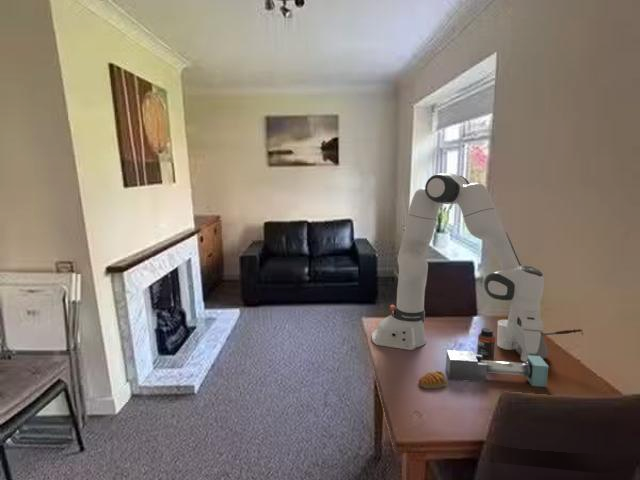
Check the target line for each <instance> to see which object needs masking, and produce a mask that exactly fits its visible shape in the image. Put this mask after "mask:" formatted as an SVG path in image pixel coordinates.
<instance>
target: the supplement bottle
mask: <svg viewBox="0 0 640 480" xmlns="http://www.w3.org/2000/svg"><path fill="white" fill-rule="evenodd" d="M493 332H494V330H493V329H492V328H490V327H481V332H480V333H478V337H477V349H476V350H477V351H476V355H482V356H483V358H482V360H488V361H493V360H494V357H495V346H496V345H495V344H496V343H495V342H496V337H495V335H494V333H493Z"/></svg>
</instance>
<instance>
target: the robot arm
mask: <svg viewBox="0 0 640 480" xmlns="http://www.w3.org/2000/svg"><path fill="white" fill-rule="evenodd" d="M424 186H425V187H421V188H418V189H417V190H416V191H415V192H414V194H413V197H412V199H411V201H410V205H409V209H408V213H407V218H406V223H405V228H404V233H403V236H402V240H401V242H400V247H399V251H398V254H397V263H398V277H397V278H398V280H397V289H396V306H395V305H394V304H391V305H389V309H390V312H391V314H390V315H388V316H386V317H385V318H383V319H381V320H380V321H379V324H378V325H377V329H375V330H374V331H372V334H371V341H372V342H373V343H374V345H376V346H381V347H388V348H393V349H394V348H395V349H401V350H408V351H412V350H415V349H416V348H420V347H423V346H424V345H426V343H427V340H426V336H425V326H424V323H425V318H426V317H425V316H426V310H425V293H426V286H427V280H428V270H429V263H428V261H427V257H426V256H427V253H428V250H429V246H430V243H431V241H432V239H433V235H434V232H435V227H436V223H437V217H438V213H439V210H440V208H441V206H442V205H443V204H445V205H451V204H454V205H455V204H456V205H458V207H459V208H460V210H461V214H462V217H463V221H464V224H465V227H466V229H467V230H468V232H469V234H470V235H472V236H473V237H475V238H476V239H479V240H481V241H483V242H486V243H487V244H488V245H490V246H491V248H492V249H493V251H494V253H495V256H496V257H497V260H498V262H499V266H500V268H501V269H500V270H498V271H494V272H492V273H488V275H486V277H485V278H484V283H483V287H484V290H485V292H486V294H487V296H489V297H490V298H492V299H495V300H500V301H508V302H510V306H509V314H508V318H507V320H508V322H507V329H508V330H509V332H510V333H511V340H512V343H511V346H512V347H513V348H518V344H519V345H520V347H521V348H522V354H520V355H519V359H520V360H521V361H522V362H524V361H527V358H528V356H529V354H536V353H537V351H538V348H539V343H540V338H541V332H542V331H544V328H545V324H544V322H543V321H542V318H541V310H542V307H541V300H542V298H543V295H544V287H545V285H544V282H545V281H544V280H545V279H544V275H543V273H542V271H541V270H539V269H538V268H535V267H533V266H528V265H522V264H521V261H519V260H520V259H519V258H518V255H517V254H516V253H517V252H516V250H515V248H514V246H513V243H512V242H511V239H510V237H509V235H508V233H507V231H506V229H505V228H504V226H503V224H502V221H501V219H500V216H499V214H498V211H497V208H496V205H495V203H494V201H493V198H492V196H491V194H490V192H489V190H488V188H487V187H486V186H485V185H484V184H482V183H480V182H472V183H470V181H468V179H466V178H465V177H464V176H461V175H457V174H456V173H455V174H454V173H444V172H443V173H435V174H434V175H432V176H430V177H429V178H428V180H427V181H426V183H425V185H424ZM540 331H541V332H540Z"/></svg>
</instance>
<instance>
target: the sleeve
mask: <svg viewBox="0 0 640 480" xmlns="http://www.w3.org/2000/svg"><path fill="white" fill-rule="evenodd" d="M482 358H483V356H482V355H477V354H475V353H474V351H469V350H468V351H467V350H451V349H447V350H446V357H445V372H446V375H447V377H448V380H449V379H450V380H451V381H462V380H469V381H468V382H475V381H483V382H482V383H486V382H487V381H486V380H487V374H488V373H487V364H486V363H479V360H483V359H482ZM450 380H449V381H450Z"/></svg>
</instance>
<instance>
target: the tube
mask: <svg viewBox="0 0 640 480" xmlns="http://www.w3.org/2000/svg"><path fill="white" fill-rule="evenodd" d="M479 363H486V364H487V373H486V374H488V373H490V374H491V373H492V374H500V375H501V374H504V375H516V376H524V377H525V378H526V377H531V375H532V365H531V364H530V362H528V361H522V362H517V361H516V362H515V361H499V360H483V359H482V360H479Z"/></svg>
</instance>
